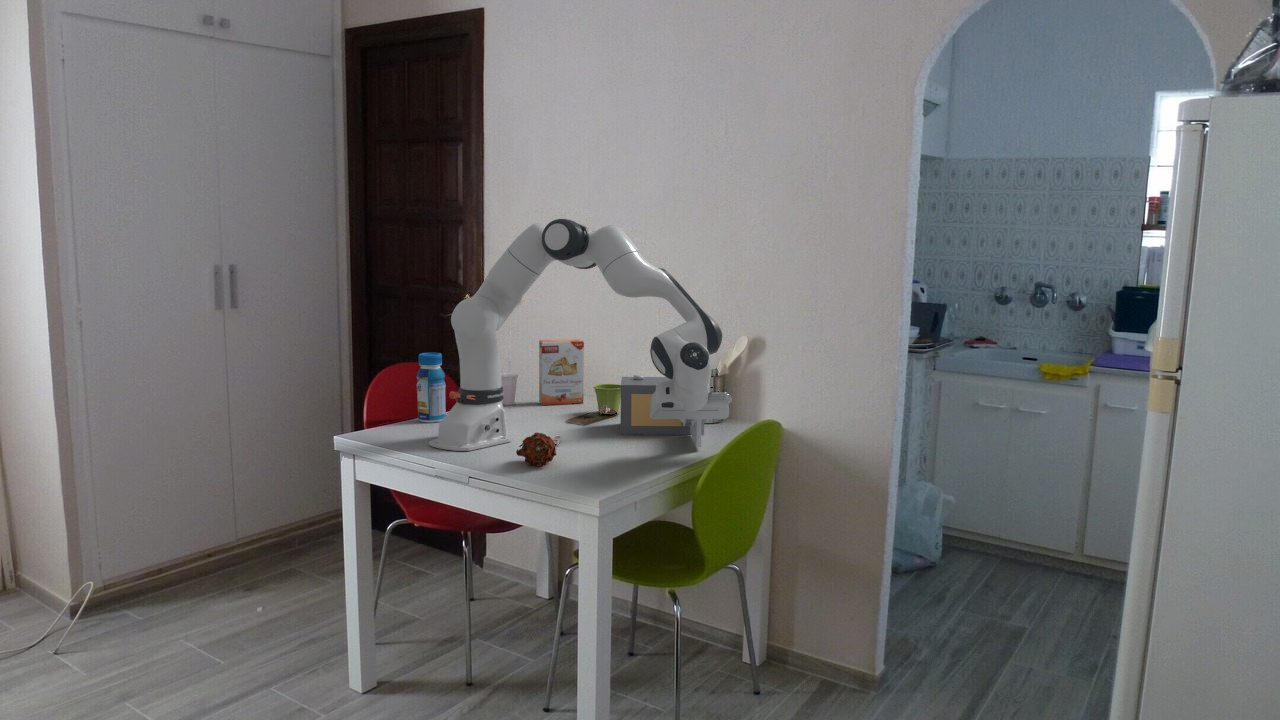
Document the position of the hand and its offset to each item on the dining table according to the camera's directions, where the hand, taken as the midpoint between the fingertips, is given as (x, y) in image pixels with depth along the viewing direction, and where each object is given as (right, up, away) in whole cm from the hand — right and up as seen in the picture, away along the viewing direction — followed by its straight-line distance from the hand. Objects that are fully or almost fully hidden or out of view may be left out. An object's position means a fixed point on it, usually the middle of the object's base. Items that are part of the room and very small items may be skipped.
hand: (688, 424), depth 241 cm
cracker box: (-38, +2, +62) cm, 73 cm away
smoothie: (-55, +2, +60) cm, 82 cm away
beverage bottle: (-75, -1, +35) cm, 82 cm away
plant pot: (-22, 0, +46) cm, 51 cm away
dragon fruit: (-38, -9, -14) cm, 41 cm away
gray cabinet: (-8, -3, +25) cm, 26 cm away
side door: (+3, -5, +8) cm, 10 cm away
